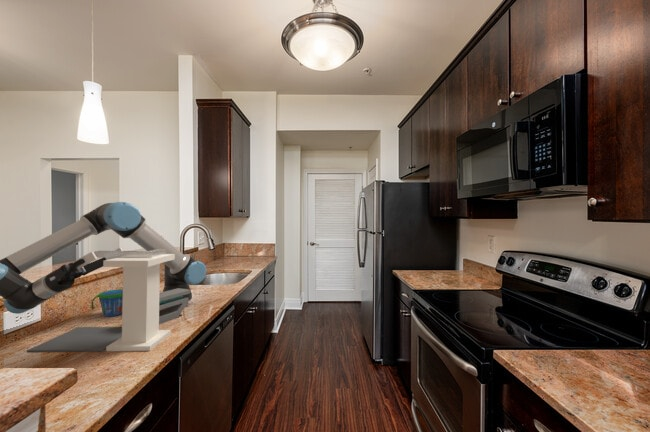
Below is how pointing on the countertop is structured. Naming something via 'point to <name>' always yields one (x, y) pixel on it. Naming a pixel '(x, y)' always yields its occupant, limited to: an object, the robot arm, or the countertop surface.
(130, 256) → the bracket
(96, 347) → the mat
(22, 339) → the countertop surface
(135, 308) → the stand
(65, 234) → the robot arm
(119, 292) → the snack cup
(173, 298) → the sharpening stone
